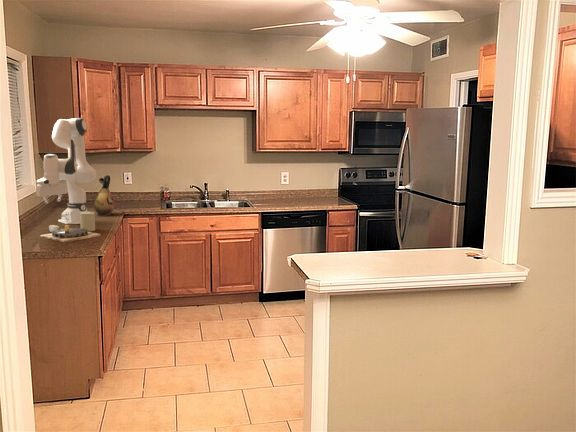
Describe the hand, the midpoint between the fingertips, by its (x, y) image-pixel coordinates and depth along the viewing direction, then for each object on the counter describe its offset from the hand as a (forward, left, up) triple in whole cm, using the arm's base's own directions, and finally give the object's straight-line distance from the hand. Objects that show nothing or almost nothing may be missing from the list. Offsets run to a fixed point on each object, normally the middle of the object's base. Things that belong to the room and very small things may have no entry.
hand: (52, 202), depth 340 cm
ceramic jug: (-28, +63, -19) cm, 71 cm away
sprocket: (+19, -2, -18) cm, 26 cm away
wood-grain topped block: (0, 0, -19) cm, 19 cm away
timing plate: (+19, -2, -19) cm, 27 cm away
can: (+11, +17, -19) cm, 28 cm away
